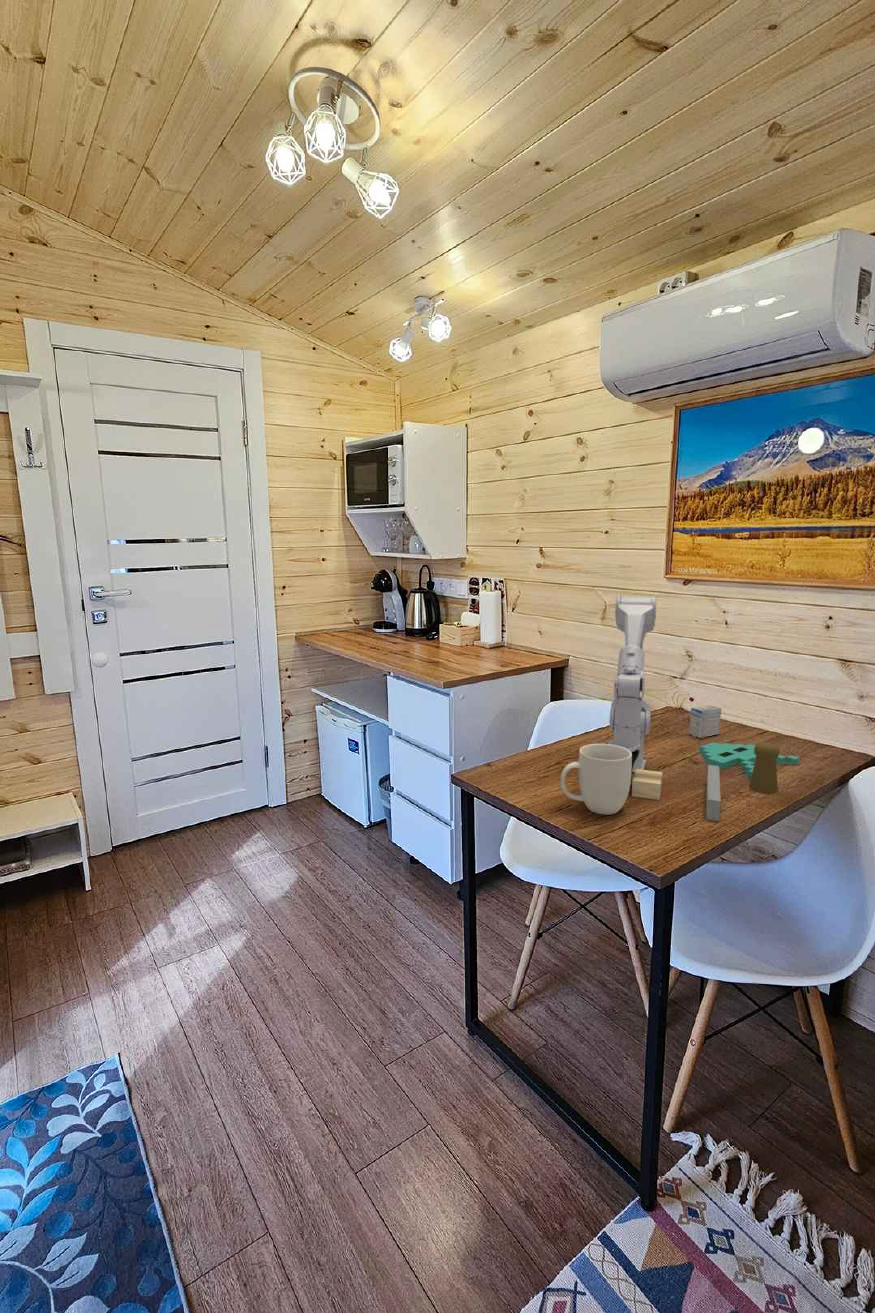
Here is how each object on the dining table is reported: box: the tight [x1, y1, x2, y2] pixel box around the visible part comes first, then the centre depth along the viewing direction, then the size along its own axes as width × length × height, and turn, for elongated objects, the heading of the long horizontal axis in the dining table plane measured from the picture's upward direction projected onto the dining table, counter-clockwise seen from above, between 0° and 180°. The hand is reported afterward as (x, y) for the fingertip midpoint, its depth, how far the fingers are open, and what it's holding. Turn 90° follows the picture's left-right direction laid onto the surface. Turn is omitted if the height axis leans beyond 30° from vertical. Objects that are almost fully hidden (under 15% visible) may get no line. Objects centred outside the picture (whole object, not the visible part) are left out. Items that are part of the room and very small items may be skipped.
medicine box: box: [688, 704, 722, 737], centre depth 185 cm, size 8×4×9 cm, turn 115°
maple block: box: [631, 769, 663, 801], centre depth 144 cm, size 8×6×4 cm
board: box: [706, 765, 722, 822], centre depth 139 cm, size 22×2×4 cm, turn 157°
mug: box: [560, 743, 632, 816], centre depth 134 cm, size 15×11×13 cm
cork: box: [748, 741, 780, 795], centre depth 145 cm, size 6×6×11 cm
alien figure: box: [698, 742, 801, 780], centre depth 164 cm, size 20×2×20 cm
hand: (624, 780), depth 146 cm, fingers closed
